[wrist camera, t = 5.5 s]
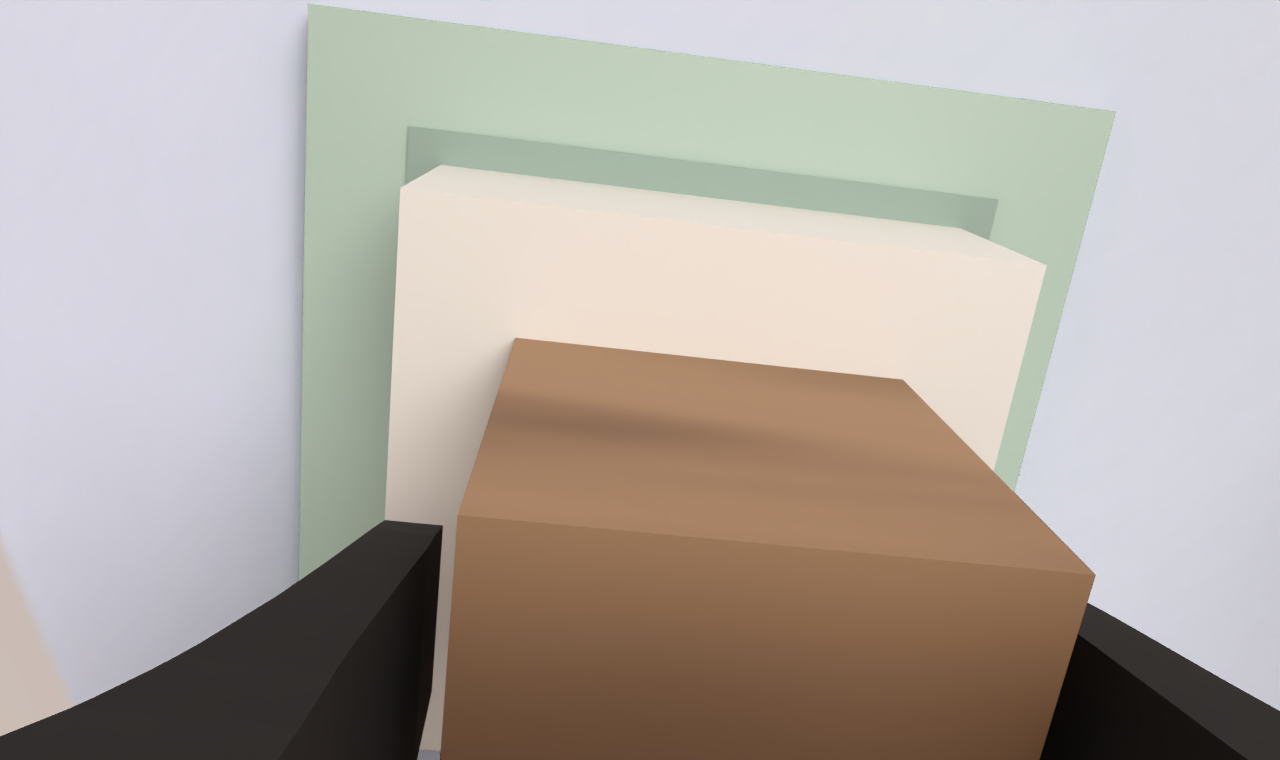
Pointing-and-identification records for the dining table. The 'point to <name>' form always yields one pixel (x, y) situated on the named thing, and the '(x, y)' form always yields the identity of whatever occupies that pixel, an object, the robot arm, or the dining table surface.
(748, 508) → the walnut cube
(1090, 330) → the dining table surface
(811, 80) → the board
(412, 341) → the block
